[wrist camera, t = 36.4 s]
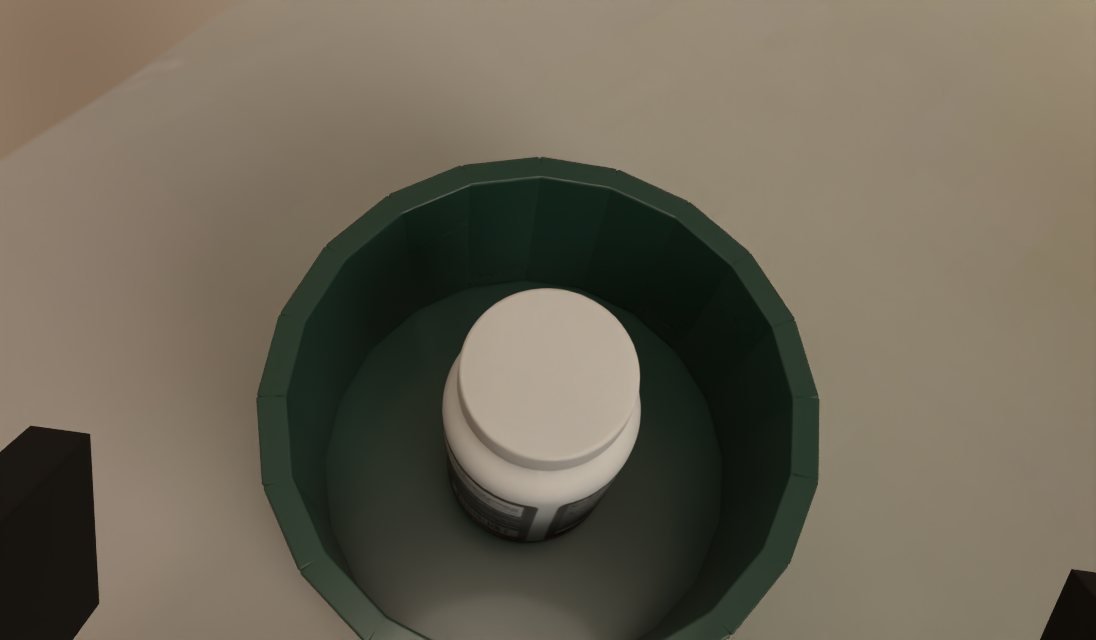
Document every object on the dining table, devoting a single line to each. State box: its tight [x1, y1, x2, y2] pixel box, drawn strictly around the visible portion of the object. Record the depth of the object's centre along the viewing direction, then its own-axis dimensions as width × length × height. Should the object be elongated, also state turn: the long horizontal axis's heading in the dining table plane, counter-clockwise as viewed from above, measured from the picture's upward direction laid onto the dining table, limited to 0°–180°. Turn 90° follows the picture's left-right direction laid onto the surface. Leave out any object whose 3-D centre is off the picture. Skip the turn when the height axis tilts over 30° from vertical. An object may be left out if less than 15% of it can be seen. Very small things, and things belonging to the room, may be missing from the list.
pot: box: [257, 157, 819, 640], centre depth 29 cm, size 16×16×8 cm
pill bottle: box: [442, 288, 641, 542], centre depth 27 cm, size 6×6×10 cm
